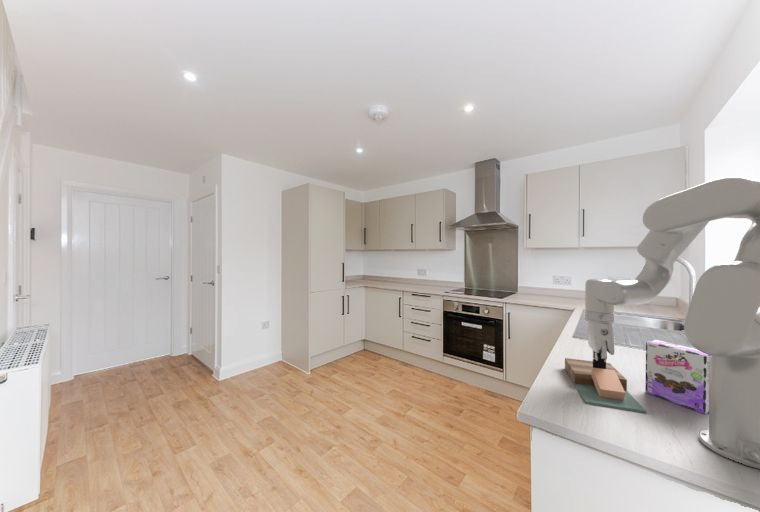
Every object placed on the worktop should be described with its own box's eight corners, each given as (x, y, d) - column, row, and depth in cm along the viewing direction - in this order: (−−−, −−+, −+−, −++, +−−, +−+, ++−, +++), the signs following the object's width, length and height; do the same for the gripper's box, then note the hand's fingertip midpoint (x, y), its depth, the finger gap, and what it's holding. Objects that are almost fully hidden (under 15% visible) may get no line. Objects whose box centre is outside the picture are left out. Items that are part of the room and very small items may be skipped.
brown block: (626, 392, 92) (626, 379, 92) (574, 384, 97) (574, 373, 97) (609, 374, 106) (609, 363, 106) (565, 368, 111) (565, 358, 111)
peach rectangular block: (623, 400, 86) (625, 392, 84) (599, 396, 88) (600, 389, 87) (613, 377, 93) (614, 370, 92) (590, 374, 95) (591, 367, 94)
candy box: (644, 392, 92) (644, 340, 92) (655, 389, 94) (655, 338, 94) (705, 415, 79) (705, 354, 79) (716, 410, 81) (717, 352, 81)
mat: (646, 413, 80) (646, 410, 80) (585, 403, 85) (585, 401, 85) (627, 393, 91) (627, 391, 91) (575, 385, 97) (575, 383, 97)
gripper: (622, 322, 87) (622, 383, 87) (605, 313, 101) (605, 365, 101) (592, 320, 90) (592, 379, 90) (579, 311, 104) (579, 362, 104)
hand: (599, 372), depth 95 cm, fingers closed
